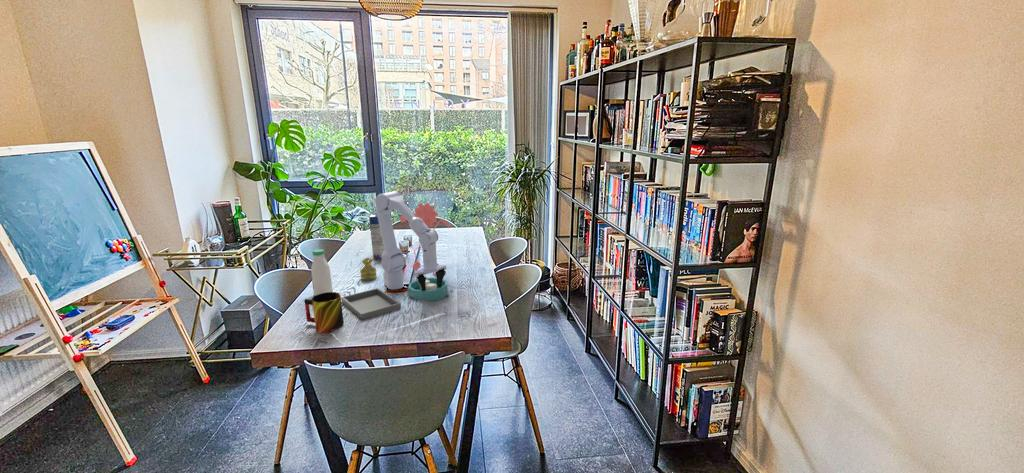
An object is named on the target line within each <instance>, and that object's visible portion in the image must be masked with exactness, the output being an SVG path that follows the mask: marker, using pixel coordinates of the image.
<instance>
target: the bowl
mask: <svg viewBox="0 0 1024 473" xmlns="http://www.w3.org/2000/svg"><path fill="white" fill-rule="evenodd" d="M426 280H429V281H430V283H434V284H437V277H426ZM407 290H408V296H409V297H411V299H415V300H421V301H427V302H435V301H438V300H441V299H444V298H445V297H446V296H448V295H449V293H448V291H449V290H448V281H447V280H446V279H443V280H442V284H441V287H438V286H437V289H435V290H426V291H422V290H420V283H419V281H418V279H414V280H412V281H410V282H409V284H408V286H407Z"/></svg>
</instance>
